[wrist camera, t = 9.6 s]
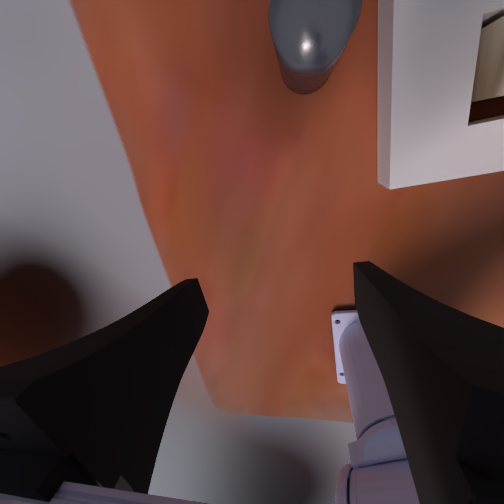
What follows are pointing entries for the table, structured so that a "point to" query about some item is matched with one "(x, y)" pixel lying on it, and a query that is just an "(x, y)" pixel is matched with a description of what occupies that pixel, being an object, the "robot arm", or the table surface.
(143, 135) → the table surface
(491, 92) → the square peg
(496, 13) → the socket block
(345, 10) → the round peg
